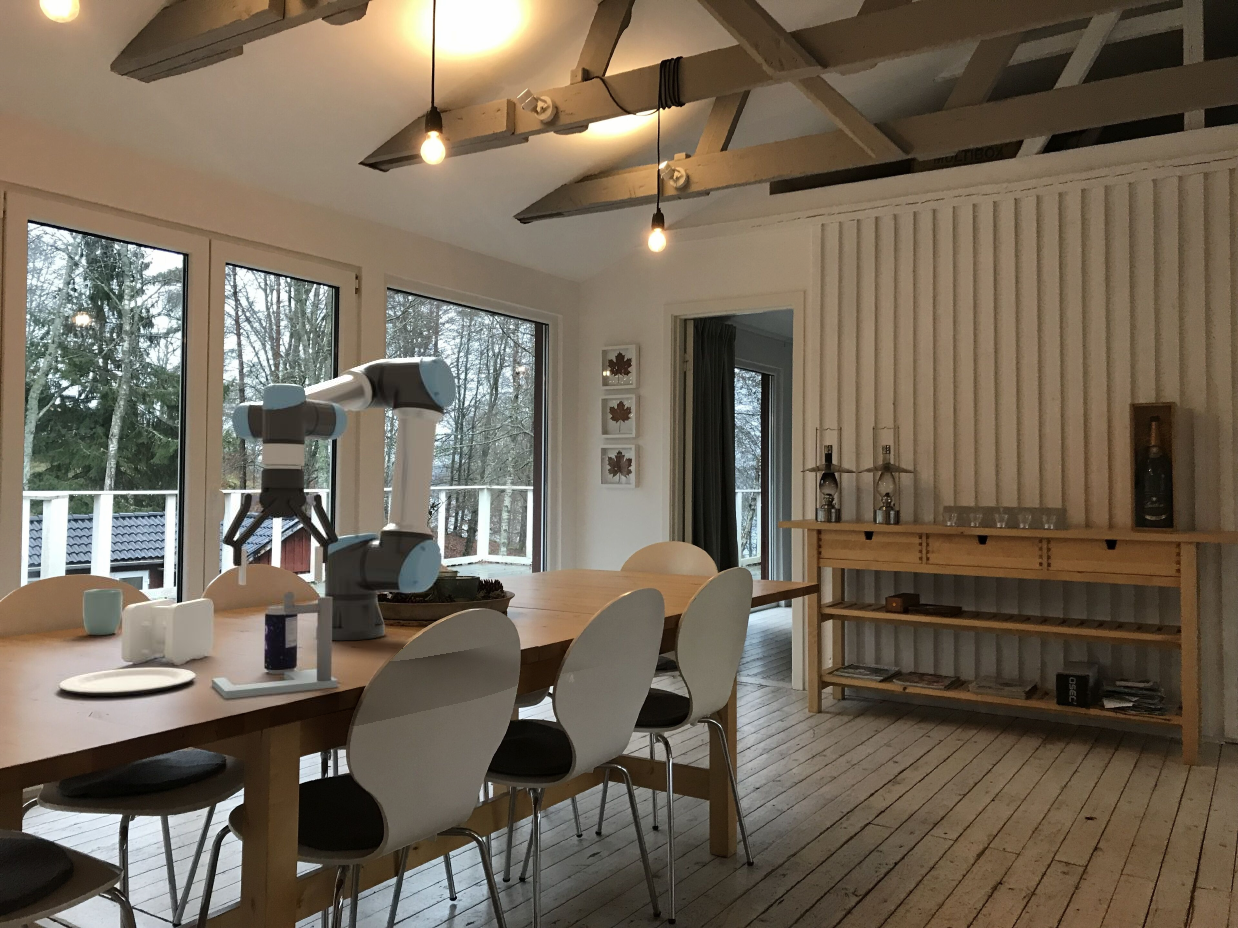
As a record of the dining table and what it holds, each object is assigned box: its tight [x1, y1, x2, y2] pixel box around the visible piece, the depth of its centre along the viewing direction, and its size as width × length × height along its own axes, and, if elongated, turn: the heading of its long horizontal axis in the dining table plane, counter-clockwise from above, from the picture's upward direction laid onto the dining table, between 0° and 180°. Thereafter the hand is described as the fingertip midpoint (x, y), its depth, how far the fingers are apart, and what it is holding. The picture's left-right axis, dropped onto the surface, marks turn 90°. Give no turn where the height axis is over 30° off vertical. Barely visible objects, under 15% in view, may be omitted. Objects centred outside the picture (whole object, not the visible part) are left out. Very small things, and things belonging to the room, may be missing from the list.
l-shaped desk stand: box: [211, 590, 339, 700], centre depth 165 cm, size 18×12×17 cm, turn 122°
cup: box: [82, 588, 123, 636], centre depth 222 cm, size 8×8×10 cm
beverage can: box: [263, 604, 299, 675], centre depth 178 cm, size 6×6×12 cm
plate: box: [58, 667, 197, 697], centre depth 165 cm, size 21×21×2 cm
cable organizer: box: [121, 598, 215, 666], centre depth 189 cm, size 15×11×12 cm
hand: (281, 583), depth 178 cm, fingers open, 13 cm apart
